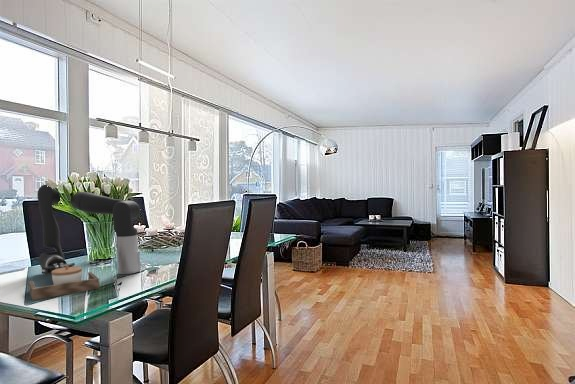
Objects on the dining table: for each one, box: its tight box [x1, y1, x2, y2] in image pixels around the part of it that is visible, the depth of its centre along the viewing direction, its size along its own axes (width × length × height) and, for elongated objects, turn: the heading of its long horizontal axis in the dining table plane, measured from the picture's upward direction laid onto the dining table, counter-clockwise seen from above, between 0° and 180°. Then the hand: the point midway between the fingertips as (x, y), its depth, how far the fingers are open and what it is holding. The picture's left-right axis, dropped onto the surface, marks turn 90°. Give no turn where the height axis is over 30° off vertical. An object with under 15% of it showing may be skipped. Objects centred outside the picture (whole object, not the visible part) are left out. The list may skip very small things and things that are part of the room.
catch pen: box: [28, 271, 100, 301], centre depth 158 cm, size 22×15×4 cm
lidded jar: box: [51, 265, 83, 285], centre depth 159 cm, size 11×11×9 cm
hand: (61, 271), depth 163 cm, fingers closed
